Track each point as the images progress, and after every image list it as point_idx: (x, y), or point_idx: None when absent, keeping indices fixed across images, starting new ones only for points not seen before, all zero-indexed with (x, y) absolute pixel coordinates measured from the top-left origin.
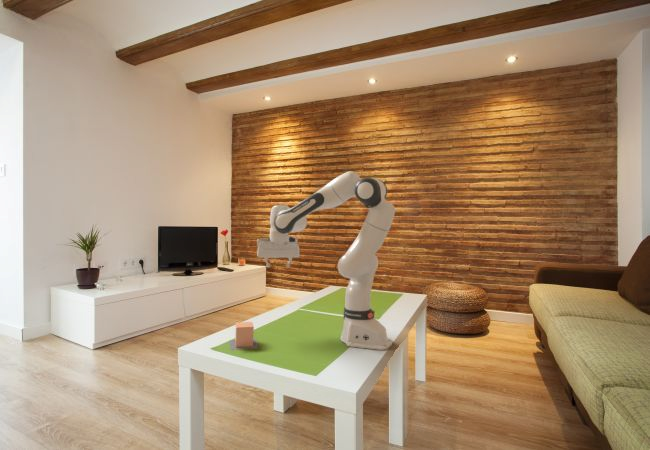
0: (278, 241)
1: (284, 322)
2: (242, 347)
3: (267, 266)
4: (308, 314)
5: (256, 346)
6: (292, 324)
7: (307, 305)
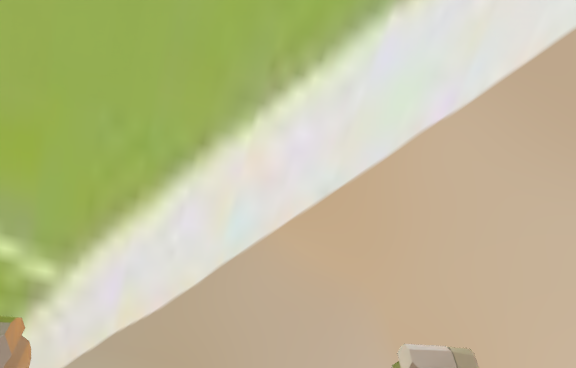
0: None
1: (184, 76)
2: None
3: (463, 354)
4: (9, 181)
5: None
6: (138, 19)
7: None
